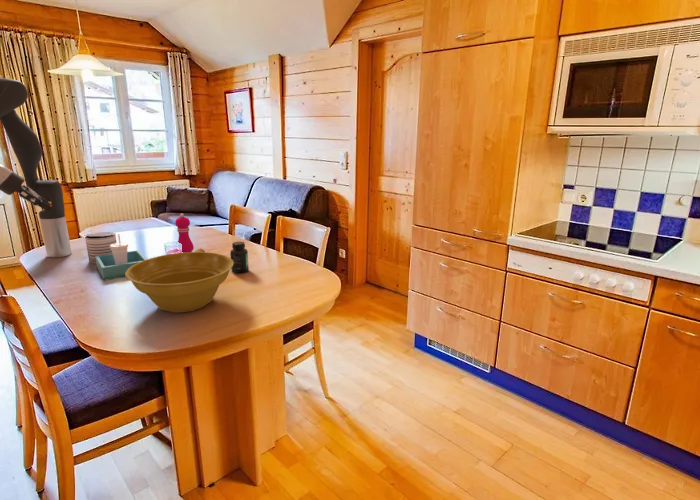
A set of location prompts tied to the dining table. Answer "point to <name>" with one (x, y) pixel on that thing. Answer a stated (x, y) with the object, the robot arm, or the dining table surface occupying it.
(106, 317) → the dining table surface
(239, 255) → the supplement bottle
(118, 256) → the smoothie
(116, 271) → the tote
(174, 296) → the planter bowl
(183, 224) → the pepper mill
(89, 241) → the can
